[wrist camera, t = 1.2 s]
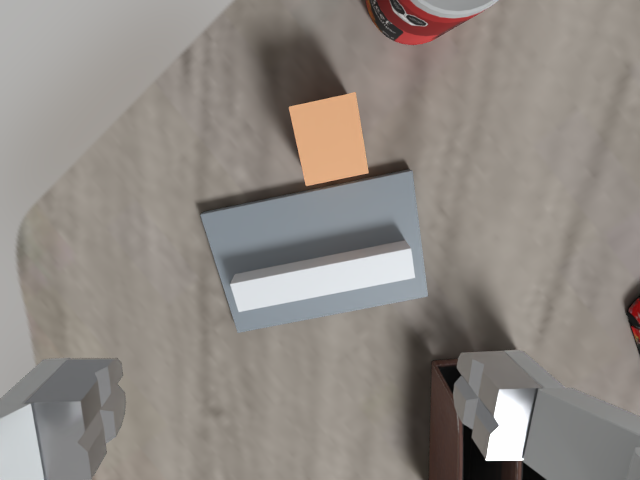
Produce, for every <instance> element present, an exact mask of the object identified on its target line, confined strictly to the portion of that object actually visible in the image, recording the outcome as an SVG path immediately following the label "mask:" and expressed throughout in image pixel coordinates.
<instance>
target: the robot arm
mask: <svg viewBox="0 0 640 480" xmlns="http://www.w3.org/2000/svg"><path fill="white" fill-rule="evenodd" d="M457 369H458V371H459V372H460V374H461V376H460V377H459V379H458V380H457V381H456V382H455V383H454V391H453V399H454V406H455V409H456V412H457V415H458V417H459V418H460V420H461V422H462V423H463V424H464V425H466V426H467V427H469V428H471V429H472V430H473V432H472V439H473V441H474V442H475V444H476V445H477V447H478V448H479V450H480V451H481V453H482V455H483V456H484V458H485V459H486V460H523V462H524V463H525V464H527V465H528V466H529V467H531V468H532V469H533V470H535V471H536V472H537V473H539V474H540V475H541V476H543V477H544V478H545V479H547V480H640V416H638V415H636V414H634V413H631V412H629V411H626V410H624V409H622V408H619V407H617V406H614V405H612V404H610V403H607V402H605V401H603V400H600V399H598V398H595V397H593V396H591V395H588V394H586V393H583V392H581V391H579V390H576V389H574V388H565V387H564V386H563V385H562V384H561V383H560V382H559V381H557V380H556V379H555V378H554V377H553V376H552V375H550V374H549V373H548V372H547V371H546V370H545V369H544V368H542V367H541V366H540V365H539V364H538V363H537V362H535V361H534V360H533V359H532V358H531V357H530V356H529V355H527V354H526V353H525V352H524V351H521V350H505V351H485V352H464V353H461V354H460V356H459V358H458V362H457ZM122 376H123V370H122V363H121V361H120V360H119V359H118V358H49V359H44V360H42V361H41V362H40V363H39V364H38V365H37V366H36V367H35V368H33V369H32V370H31V371H30V372H29V373H28V374H27V375H26V376H25V377H24V378H22V379H21V380H20V381H19V382H18V383H17V384H16V385H15V386H14V387H13V388H12V389H10V390H9V391H8V392H7V393H6V394H5V395H4V396H3V397H2V398H0V480H92V478H93V476H94V474H95V473H96V471H97V469H98V467H99V466H100V464H101V462H102V460H103V459H104V457H105V455H106V453H107V451H106V443H107V442H109V441H110V440H112V439H113V438H115V437H116V436H117V434H118V432H119V430H120V428H121V426H122V422H123V419H124V415H125V408H126V397H125V392H124V391H123V390H122V388H121V387H120V386H119V385H118V382H119V381H120V379H121V378H122Z"/></svg>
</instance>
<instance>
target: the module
mask: <svg viewBox="0 0 640 480" xmlns="http://www.w3.org/2000/svg"><path fill="white" fill-rule="evenodd" d="M289 111H290V116H291V120H292V125H293V129H294V134H295V138H296V143H297V148H298V152H299V157H300V161H301V166H302V170H303V175H304V180H305V184H306V186H309V185H314V184H319V183H324V182H329V181H333V180H338V179H343V178H348V177H353V176H358V175H362V174H367V173H369V172H368V166H367V159H366V153H365V147H364V141H363V135H362V129H361V123H360V116H359V110H358V104H357V98H356V92H354V93H350V94H345V95H341V96H336V97H331V98H327V99H322V100H318V101H313V102H308V103H304V104H299V105H295V106H290V107H289Z"/></svg>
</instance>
